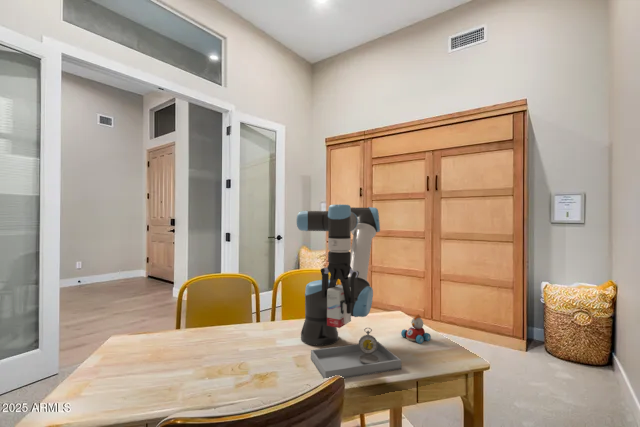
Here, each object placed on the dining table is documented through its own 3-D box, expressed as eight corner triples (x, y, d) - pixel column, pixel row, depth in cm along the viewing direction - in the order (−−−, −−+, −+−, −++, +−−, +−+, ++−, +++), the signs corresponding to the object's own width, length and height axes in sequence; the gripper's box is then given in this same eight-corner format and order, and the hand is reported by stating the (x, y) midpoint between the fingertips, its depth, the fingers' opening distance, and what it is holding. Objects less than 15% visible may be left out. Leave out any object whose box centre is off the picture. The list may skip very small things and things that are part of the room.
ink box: (339, 328, 101) (339, 291, 102) (326, 325, 104) (326, 289, 104) (351, 321, 109) (351, 286, 109) (338, 318, 111) (338, 284, 111)
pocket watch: (367, 367, 104) (367, 336, 104) (352, 357, 111) (352, 328, 111) (386, 361, 108) (386, 332, 108) (370, 352, 115) (370, 324, 116)
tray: (325, 381, 96) (325, 371, 97) (310, 358, 112) (310, 350, 112) (401, 369, 104) (401, 359, 104) (377, 349, 120) (377, 341, 120)
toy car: (399, 337, 132) (399, 313, 132) (413, 333, 137) (413, 309, 137) (417, 345, 124) (417, 319, 124) (432, 340, 129) (432, 315, 129)
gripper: (310, 250, 108) (310, 319, 108) (358, 253, 99) (358, 329, 98) (322, 248, 115) (322, 313, 115) (369, 251, 105) (368, 323, 105)
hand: (339, 321), depth 106 cm, fingers closed on ink box, 5 cm apart
